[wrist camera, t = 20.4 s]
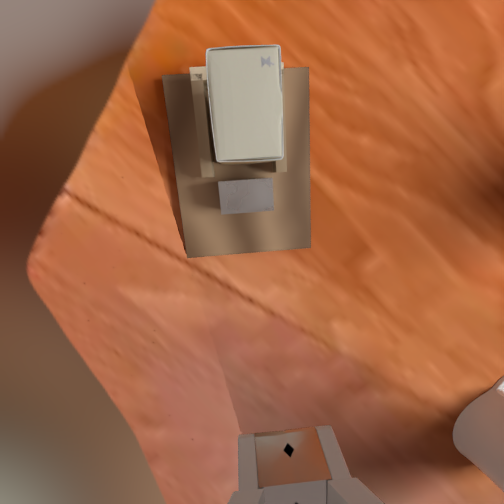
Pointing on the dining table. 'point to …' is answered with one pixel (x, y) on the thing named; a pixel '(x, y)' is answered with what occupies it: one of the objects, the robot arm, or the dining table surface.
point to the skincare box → (246, 103)
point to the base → (238, 172)
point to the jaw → (246, 195)
